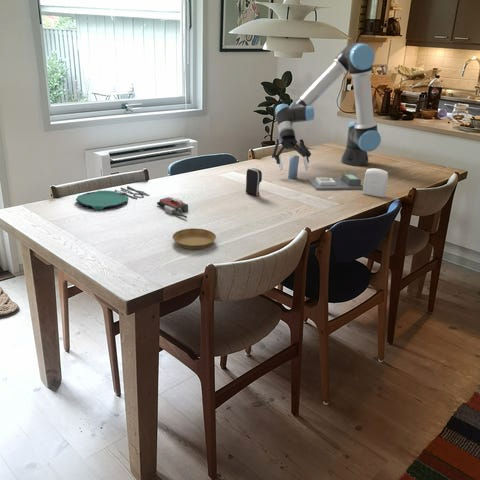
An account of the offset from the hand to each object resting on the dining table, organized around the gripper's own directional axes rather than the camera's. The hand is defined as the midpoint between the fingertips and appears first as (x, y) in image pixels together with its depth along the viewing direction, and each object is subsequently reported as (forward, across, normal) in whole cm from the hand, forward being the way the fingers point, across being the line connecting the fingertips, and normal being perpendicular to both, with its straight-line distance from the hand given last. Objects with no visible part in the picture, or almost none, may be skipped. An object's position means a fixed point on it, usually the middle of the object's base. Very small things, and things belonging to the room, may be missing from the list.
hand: (294, 169), depth 245 cm
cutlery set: (+19, +88, +11) cm, 91 cm away
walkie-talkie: (+31, +64, +23) cm, 74 cm away
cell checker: (+12, -17, +5) cm, 21 cm away
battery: (+18, +27, +11) cm, 34 cm away
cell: (+2, 0, -5) cm, 5 cm away
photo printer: (+24, -29, +17) cm, 41 cm away
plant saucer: (+54, +62, +46) cm, 94 cm away
